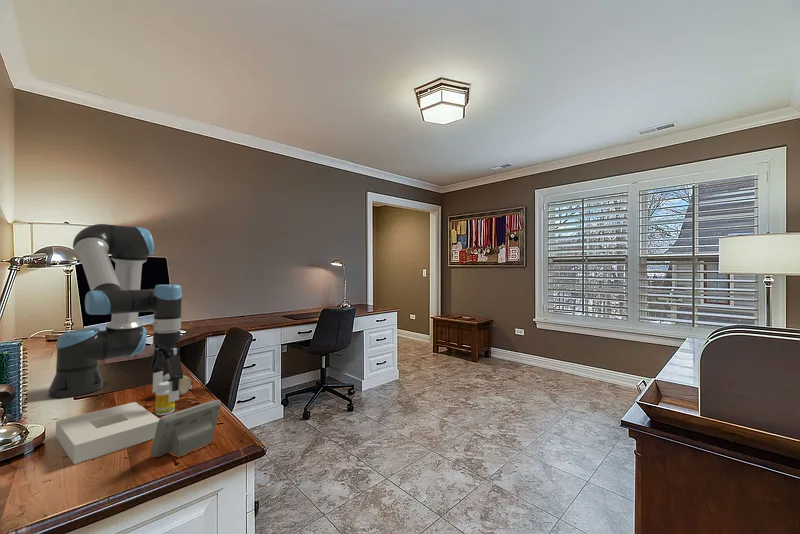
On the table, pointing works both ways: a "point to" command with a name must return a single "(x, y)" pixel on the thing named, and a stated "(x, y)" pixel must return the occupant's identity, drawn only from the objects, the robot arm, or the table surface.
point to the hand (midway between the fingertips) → (165, 396)
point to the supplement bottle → (163, 400)
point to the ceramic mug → (181, 384)
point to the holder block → (105, 431)
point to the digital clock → (186, 429)
